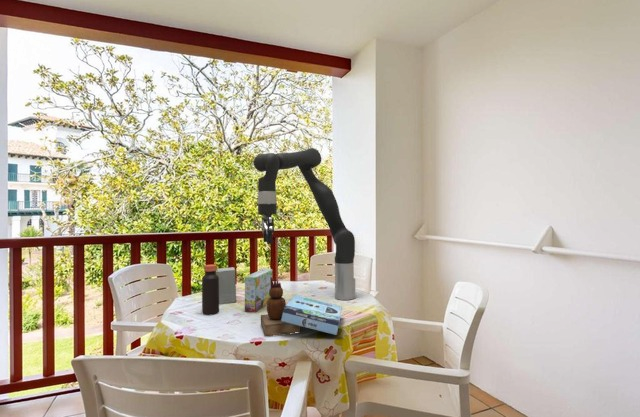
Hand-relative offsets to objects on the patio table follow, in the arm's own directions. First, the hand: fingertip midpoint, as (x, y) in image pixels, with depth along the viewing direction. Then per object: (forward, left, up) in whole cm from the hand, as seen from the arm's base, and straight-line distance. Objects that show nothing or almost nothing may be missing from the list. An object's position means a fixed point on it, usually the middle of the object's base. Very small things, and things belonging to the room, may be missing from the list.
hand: (267, 242), depth 141 cm
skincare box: (+15, -28, -30) cm, 44 cm away
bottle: (+22, -12, -30) cm, 39 cm away
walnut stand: (-2, +17, -30) cm, 34 cm away
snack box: (+1, -17, -30) cm, 35 cm away
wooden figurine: (0, +16, -26) cm, 31 cm away
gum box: (-18, +7, -25) cm, 32 cm away
